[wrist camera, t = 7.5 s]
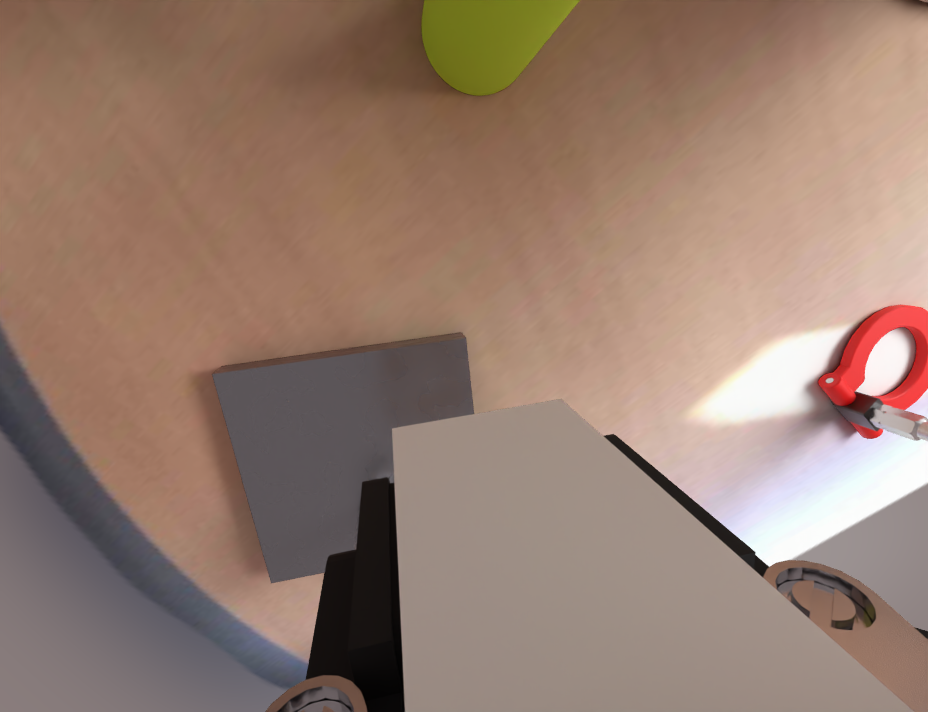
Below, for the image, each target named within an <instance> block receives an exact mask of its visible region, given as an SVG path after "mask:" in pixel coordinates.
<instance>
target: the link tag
mask: <svg viewBox="0 0 928 712" xmlns="http://www.w3.org/2000/svg"><path fill="white" fill-rule="evenodd" d="M392 441H393V462H394V484H395V506H396V527H397V549H398V571H399V592H400V614H401V636H402V657H403V679H404V701H405V712H914V711H913V710H912V709H910V708H909V707H908V706H907V705H906V704H905V703H904V702H903V701H901V700H900V699H899V698H898V697H897V696H896V695H895V694H894V693H892V692H891V691H890V690H889V689H888V688H887V687H886V686H885V685H883V684H882V683H881V682H880V681H879V680H878V679H877V678H876V677H874V676H873V675H872V674H871V673H870V672H869V671H868V670H866V669H865V668H864V667H863V666H862V665H861V664H860V663H859V662H857V661H856V660H855V659H854V658H853V657H852V656H851V655H850V654H848V653H847V652H846V651H845V650H844V649H843V648H842V647H841V646H839V645H838V644H837V643H836V642H835V641H834V640H833V639H832V638H830V637H829V636H828V635H827V634H826V633H825V632H824V631H823V630H821V629H820V628H819V627H818V626H817V625H816V624H815V623H813V622H812V621H811V620H810V619H809V618H808V617H807V616H806V615H804V614H803V613H802V612H801V611H800V610H799V609H798V608H797V607H795V606H794V605H793V604H792V603H791V602H790V601H789V600H788V599H786V598H785V597H784V596H783V595H782V594H781V593H780V592H779V591H777V590H776V589H775V588H774V587H773V586H772V585H771V584H770V583H768V582H767V581H766V580H765V579H764V578H763V577H762V576H760V575H759V574H758V573H757V572H756V571H755V570H754V569H753V568H751V567H750V566H749V565H748V564H747V563H746V562H745V561H744V560H742V559H741V558H740V557H739V556H738V555H737V554H736V553H735V552H733V551H732V550H731V549H730V548H729V547H728V546H727V545H726V544H724V543H723V542H722V541H721V540H720V539H719V538H718V537H717V536H715V535H714V534H713V533H712V532H711V531H710V530H709V529H707V528H706V527H705V526H704V525H703V524H702V523H701V522H700V521H698V520H697V519H696V518H695V517H694V516H693V515H692V514H691V513H689V512H688V511H687V510H686V509H685V508H684V507H683V506H682V505H680V504H679V503H678V502H677V501H676V500H675V499H674V498H673V497H671V496H670V495H669V494H668V493H667V492H666V491H665V490H664V489H662V488H661V487H660V486H659V485H658V484H657V483H656V482H654V481H653V480H652V479H651V478H650V477H649V476H648V475H647V474H645V473H644V472H643V471H642V470H641V469H640V468H639V467H638V466H636V465H635V464H634V463H633V462H632V461H631V460H630V459H629V458H627V457H626V456H625V455H624V454H623V453H622V452H621V451H620V450H618V449H617V448H616V447H615V446H614V445H613V444H612V443H611V442H609V441H608V440H607V439H606V438H605V437H604V436H603V435H601V434H600V433H599V432H598V431H597V430H596V429H595V428H594V427H592V426H591V425H590V424H589V423H588V422H587V421H586V420H585V419H583V418H582V417H581V416H580V415H579V414H578V413H577V412H576V411H574V410H573V409H572V408H571V407H570V406H569V405H568V404H567V403H565V402H564V401H563V400H562V399H558V400H552V401H546V402H541V403H535V404H529V405H523V406H518V407H512V408H506V409H500V410H495V411H489V412H483V413H477V414H472V415H466V416H460V417H454V418H449V419H443V420H437V421H431V422H426V423H420V424H414V425H409V426H403V427H397V428H392Z"/></svg>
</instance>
